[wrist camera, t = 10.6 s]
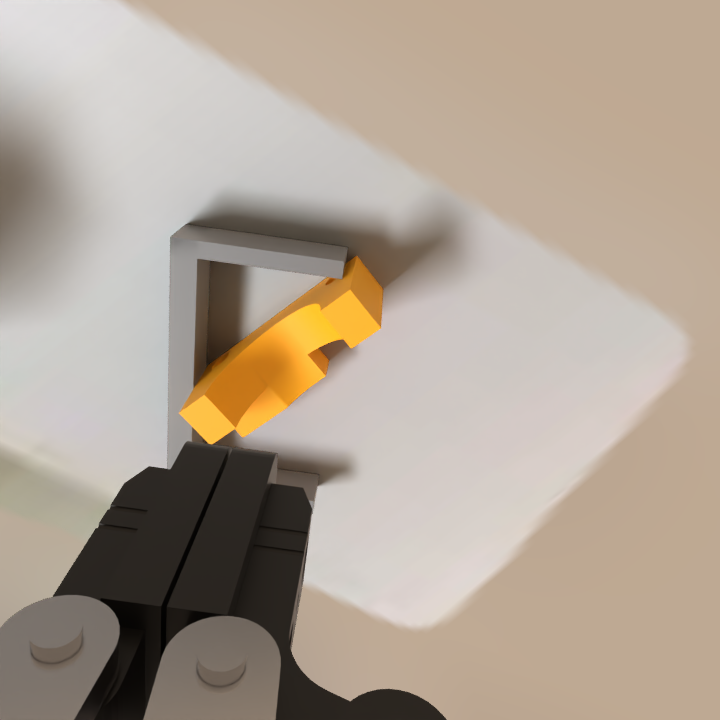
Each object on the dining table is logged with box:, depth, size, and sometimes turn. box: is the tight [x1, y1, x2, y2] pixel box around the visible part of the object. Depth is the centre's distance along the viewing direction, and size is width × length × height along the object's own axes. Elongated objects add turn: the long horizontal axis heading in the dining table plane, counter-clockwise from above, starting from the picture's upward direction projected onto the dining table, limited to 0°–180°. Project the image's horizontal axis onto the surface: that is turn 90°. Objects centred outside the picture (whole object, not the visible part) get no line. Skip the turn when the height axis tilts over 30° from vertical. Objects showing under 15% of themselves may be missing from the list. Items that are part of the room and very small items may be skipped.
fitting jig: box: [167, 224, 348, 514], centre depth 41 cm, size 10×17×3 cm, turn 172°
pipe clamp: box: [179, 256, 383, 444], centre depth 39 cm, size 12×4×6 cm, turn 127°
